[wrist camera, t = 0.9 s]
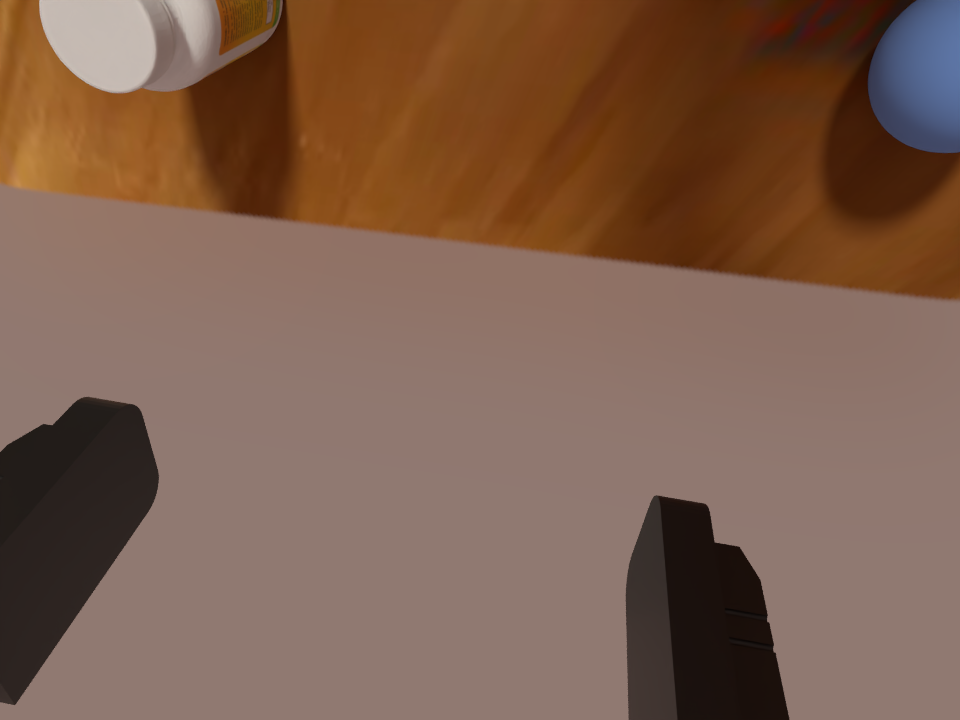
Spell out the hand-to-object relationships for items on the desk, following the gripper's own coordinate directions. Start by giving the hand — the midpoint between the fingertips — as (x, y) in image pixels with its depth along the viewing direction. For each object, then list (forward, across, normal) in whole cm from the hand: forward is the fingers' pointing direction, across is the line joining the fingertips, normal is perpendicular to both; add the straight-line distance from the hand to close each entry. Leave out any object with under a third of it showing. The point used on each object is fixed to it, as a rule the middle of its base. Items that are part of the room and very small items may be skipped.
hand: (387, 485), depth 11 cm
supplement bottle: (+25, +14, -2) cm, 29 cm away
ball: (+22, -16, -3) cm, 27 cm away
